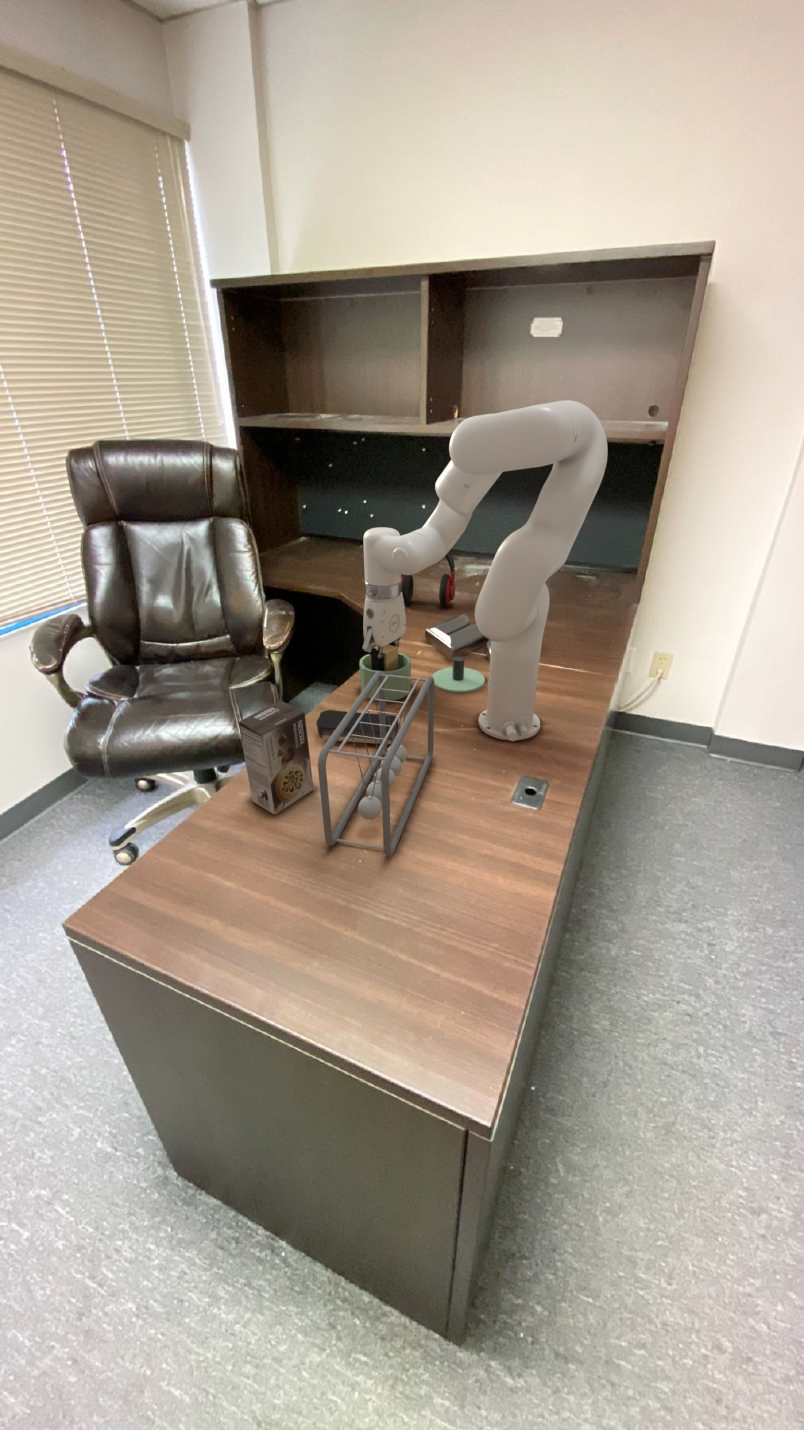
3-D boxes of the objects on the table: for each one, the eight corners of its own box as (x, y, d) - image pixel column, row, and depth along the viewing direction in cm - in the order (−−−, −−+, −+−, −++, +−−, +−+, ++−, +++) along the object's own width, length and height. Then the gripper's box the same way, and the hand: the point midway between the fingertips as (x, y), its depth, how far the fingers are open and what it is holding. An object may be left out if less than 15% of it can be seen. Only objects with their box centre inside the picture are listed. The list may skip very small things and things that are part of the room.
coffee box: (290, 776, 111) (280, 699, 103) (314, 790, 107) (306, 710, 99) (250, 801, 105) (236, 720, 97) (274, 816, 101) (262, 733, 93)
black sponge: (314, 743, 120) (312, 727, 119) (325, 721, 128) (324, 706, 126) (395, 750, 118) (395, 734, 116) (402, 727, 125) (402, 712, 123)
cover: (488, 694, 138) (490, 669, 134) (434, 696, 137) (434, 671, 134) (479, 670, 148) (481, 647, 145) (429, 672, 148) (429, 648, 145)
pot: (412, 702, 135) (412, 671, 131) (360, 703, 134) (359, 673, 131) (409, 679, 145) (409, 650, 141) (361, 680, 144) (359, 651, 140)
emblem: (433, 603, 175) (532, 609, 170) (433, 621, 177) (530, 627, 172) (415, 641, 151) (529, 649, 146) (415, 660, 154) (527, 669, 149)
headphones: (455, 601, 192) (458, 537, 182) (451, 612, 184) (453, 545, 174) (401, 598, 195) (400, 535, 185) (395, 608, 187) (393, 543, 177)
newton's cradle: (390, 863, 91) (387, 766, 82) (325, 851, 93) (315, 755, 85) (433, 755, 116) (435, 672, 107) (381, 748, 119) (378, 666, 110)
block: (398, 667, 137) (398, 646, 135) (386, 674, 134) (386, 653, 132) (382, 662, 139) (381, 642, 137) (371, 669, 136) (370, 649, 134)
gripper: (373, 604, 120) (376, 686, 129) (419, 581, 132) (419, 658, 141) (343, 597, 123) (348, 677, 132) (391, 576, 135) (392, 651, 144)
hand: (384, 667), depth 137 cm, fingers closed on block, 4 cm apart
